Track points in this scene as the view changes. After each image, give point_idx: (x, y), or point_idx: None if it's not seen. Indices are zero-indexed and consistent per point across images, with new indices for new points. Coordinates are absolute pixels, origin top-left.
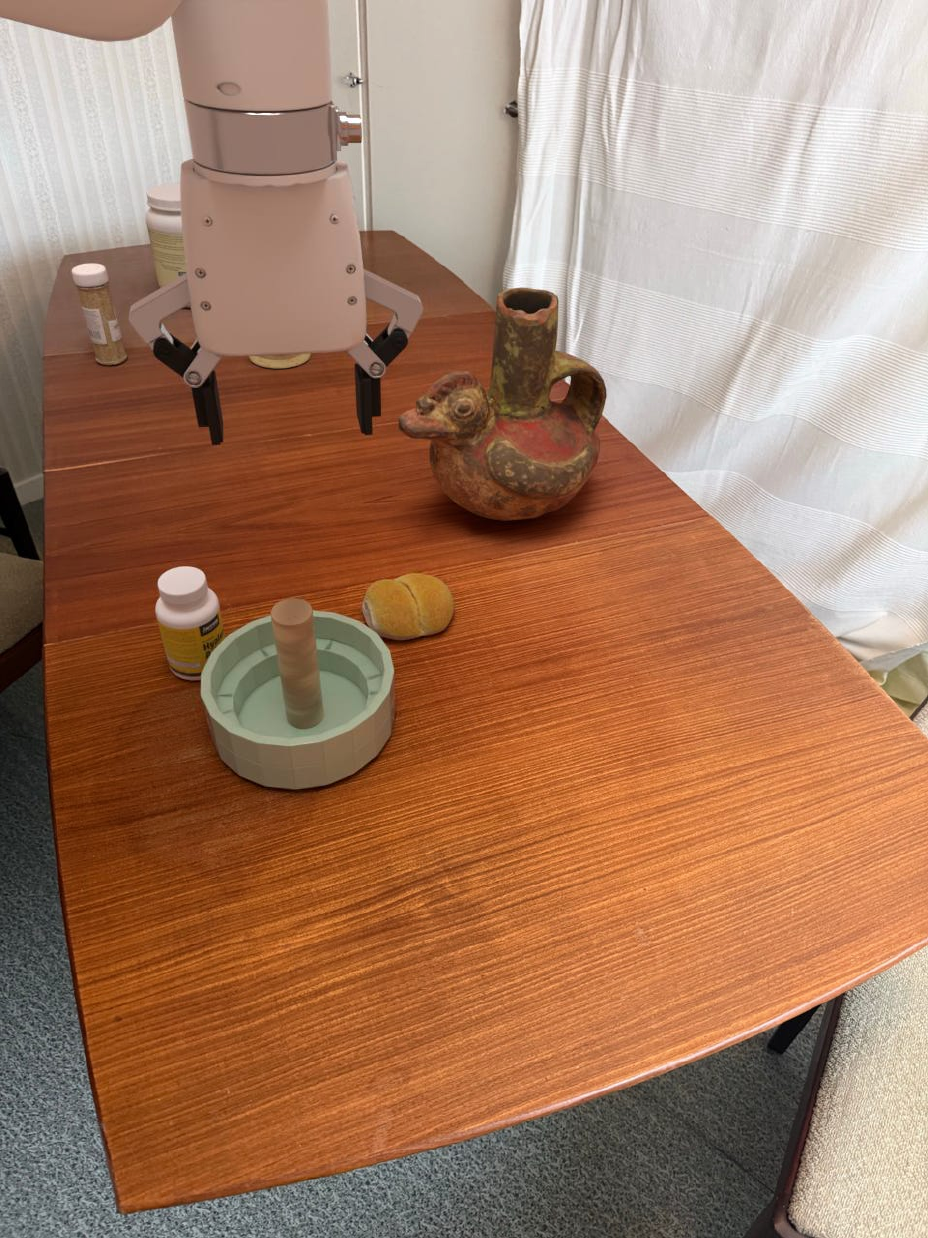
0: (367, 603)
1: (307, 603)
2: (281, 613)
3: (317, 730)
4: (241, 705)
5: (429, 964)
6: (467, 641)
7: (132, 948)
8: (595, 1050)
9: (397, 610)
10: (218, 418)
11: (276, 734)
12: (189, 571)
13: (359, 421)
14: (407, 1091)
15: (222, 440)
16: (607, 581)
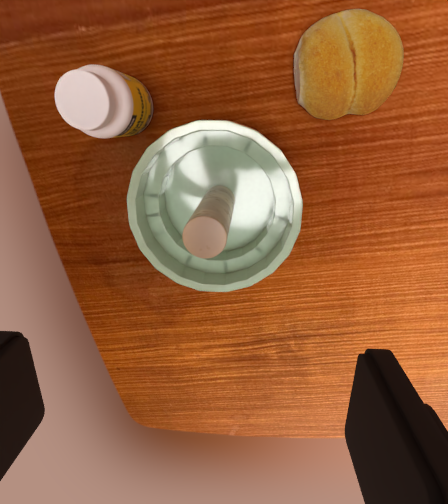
0: (300, 70)
1: (222, 228)
2: (193, 239)
3: None
4: (167, 181)
5: (270, 380)
6: (390, 125)
7: (118, 339)
8: (335, 428)
9: (330, 100)
10: (5, 471)
11: None
12: (88, 83)
13: (353, 412)
14: (246, 422)
15: (40, 421)
16: None
